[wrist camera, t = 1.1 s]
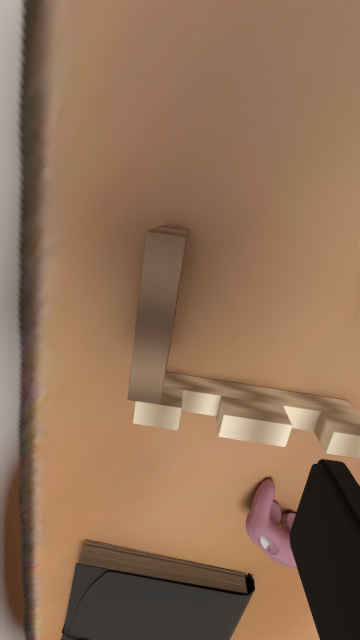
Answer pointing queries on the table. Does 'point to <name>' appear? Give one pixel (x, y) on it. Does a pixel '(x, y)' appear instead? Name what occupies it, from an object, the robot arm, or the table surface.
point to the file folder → (152, 597)
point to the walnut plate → (156, 312)
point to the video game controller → (270, 526)
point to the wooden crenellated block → (255, 412)
